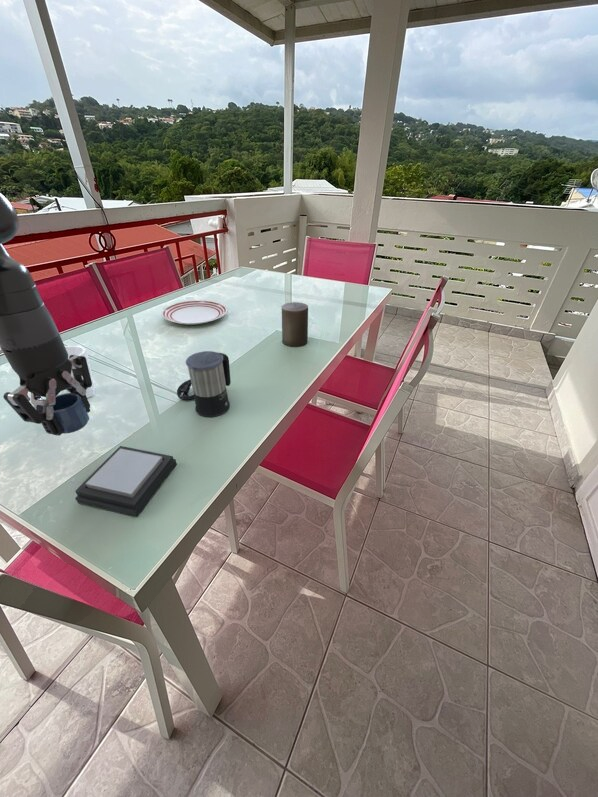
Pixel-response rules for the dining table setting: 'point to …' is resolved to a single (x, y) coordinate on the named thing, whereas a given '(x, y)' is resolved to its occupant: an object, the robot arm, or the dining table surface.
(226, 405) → the milk frother
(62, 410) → the blue cup
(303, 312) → the pillar candle
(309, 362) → the dining table surface
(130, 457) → the pan
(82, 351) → the foam cup
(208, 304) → the dinner plate
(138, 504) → the scale
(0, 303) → the robot arm
